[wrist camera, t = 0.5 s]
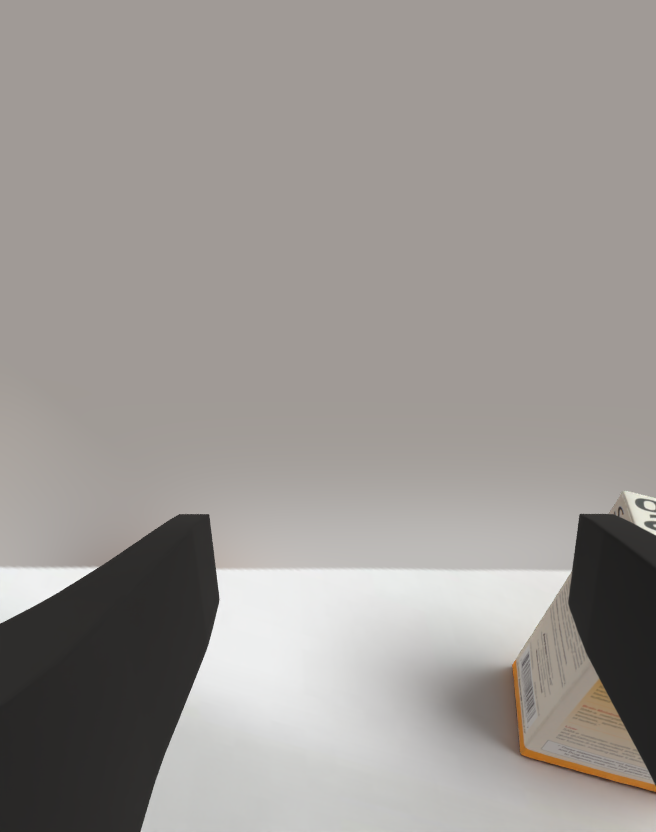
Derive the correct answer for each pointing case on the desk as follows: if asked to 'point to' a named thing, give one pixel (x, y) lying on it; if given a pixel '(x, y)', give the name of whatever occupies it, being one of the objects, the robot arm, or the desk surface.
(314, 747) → the desk surface
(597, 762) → the supplement box
